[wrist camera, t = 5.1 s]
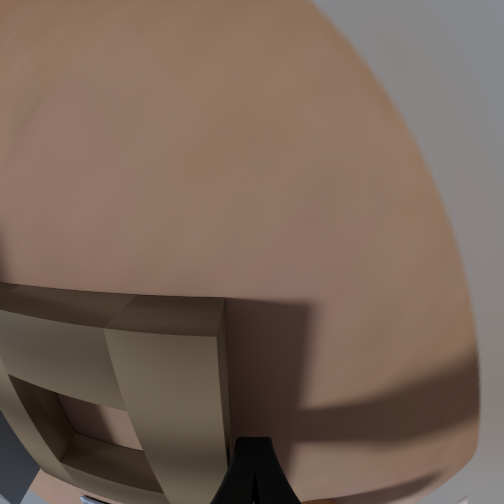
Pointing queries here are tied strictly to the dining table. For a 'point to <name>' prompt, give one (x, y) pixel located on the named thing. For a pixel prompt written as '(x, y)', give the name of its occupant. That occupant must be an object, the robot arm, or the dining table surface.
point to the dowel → (319, 502)
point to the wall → (14, 465)
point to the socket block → (120, 388)
